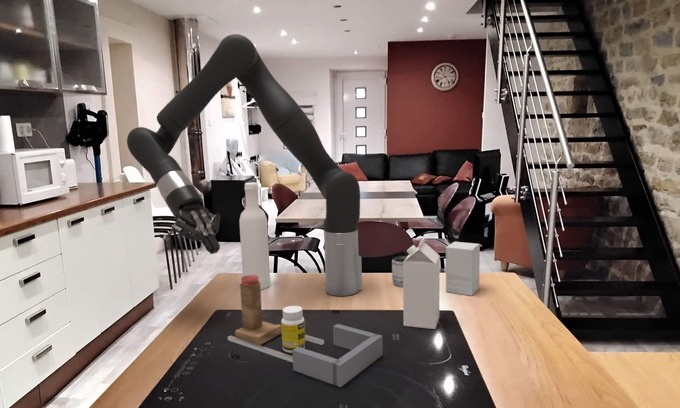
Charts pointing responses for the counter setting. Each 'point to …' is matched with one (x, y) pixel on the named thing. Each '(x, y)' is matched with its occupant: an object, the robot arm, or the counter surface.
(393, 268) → the camera lens
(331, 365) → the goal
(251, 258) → the bottle
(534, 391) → the counter surface
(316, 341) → the track
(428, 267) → the milk carton
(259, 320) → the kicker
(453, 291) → the supplement box
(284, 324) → the supplement bottle
